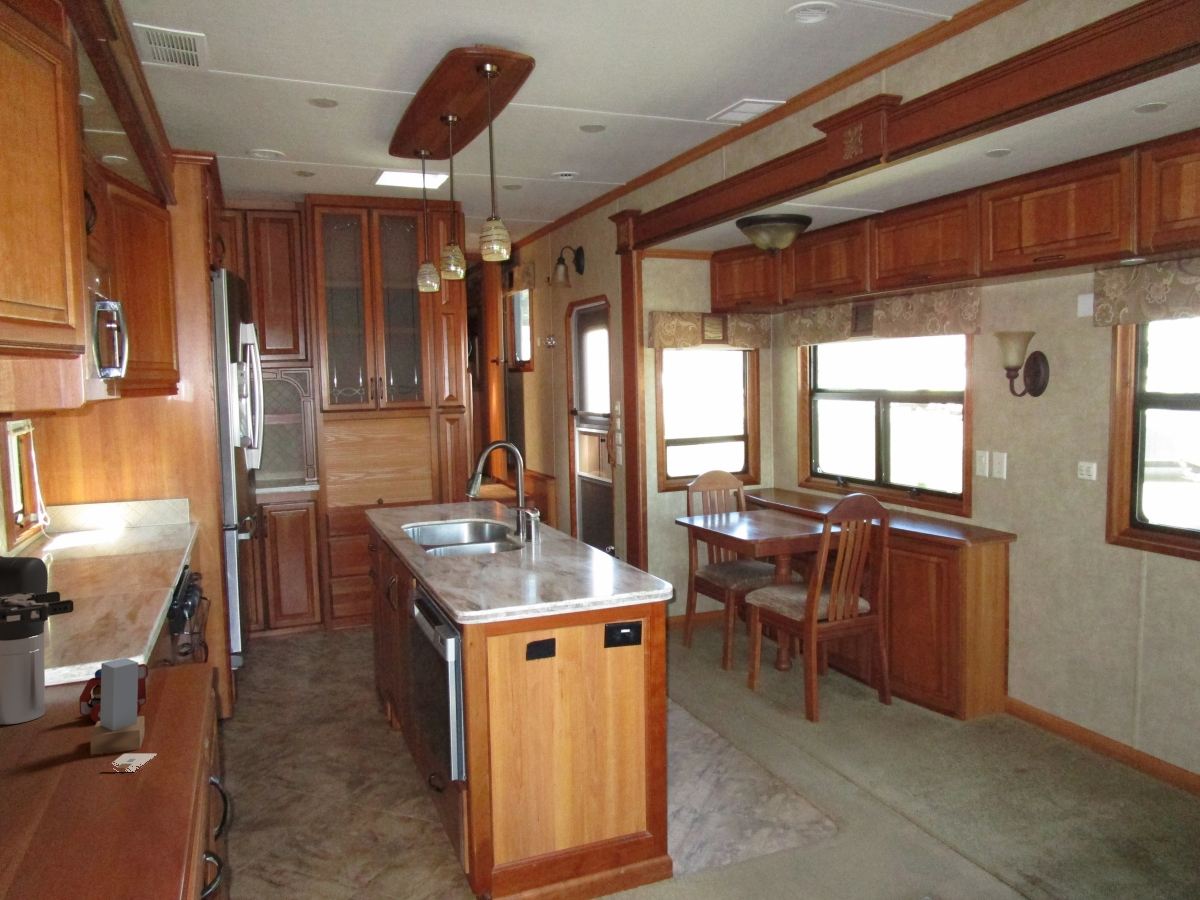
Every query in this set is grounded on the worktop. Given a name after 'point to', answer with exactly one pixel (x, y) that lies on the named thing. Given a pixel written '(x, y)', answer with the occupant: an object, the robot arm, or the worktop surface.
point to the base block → (117, 738)
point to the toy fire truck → (95, 703)
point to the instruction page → (132, 761)
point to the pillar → (119, 694)
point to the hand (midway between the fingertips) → (66, 601)
